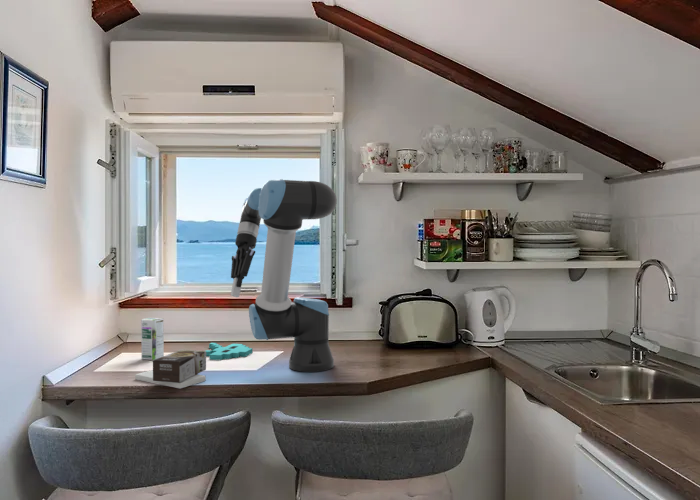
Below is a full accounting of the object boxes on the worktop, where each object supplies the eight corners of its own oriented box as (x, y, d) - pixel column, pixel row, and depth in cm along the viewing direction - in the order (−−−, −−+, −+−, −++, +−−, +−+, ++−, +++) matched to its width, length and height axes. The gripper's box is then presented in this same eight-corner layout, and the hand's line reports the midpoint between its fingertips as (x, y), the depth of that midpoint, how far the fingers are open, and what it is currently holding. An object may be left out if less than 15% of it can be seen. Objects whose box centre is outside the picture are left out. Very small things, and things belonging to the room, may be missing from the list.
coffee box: (206, 350, 173) (180, 361, 157) (206, 370, 173) (180, 383, 157) (180, 348, 175) (152, 359, 159) (180, 368, 175) (152, 381, 159)
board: (205, 380, 166) (205, 375, 166) (180, 388, 157) (179, 383, 157) (161, 372, 176) (161, 367, 176) (135, 379, 167) (135, 374, 167)
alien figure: (186, 359, 196) (238, 362, 192) (186, 353, 196) (238, 356, 192) (211, 348, 215) (258, 350, 211) (211, 342, 215) (258, 344, 211)
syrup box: (140, 359, 194) (140, 319, 194) (151, 355, 200) (150, 317, 199) (154, 360, 192) (154, 320, 192) (164, 356, 198) (164, 317, 198)
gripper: (265, 235, 199) (253, 296, 190) (246, 244, 208) (234, 302, 199) (247, 228, 195) (235, 289, 185) (229, 237, 204) (216, 296, 194)
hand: (234, 296), depth 192 cm, fingers closed
